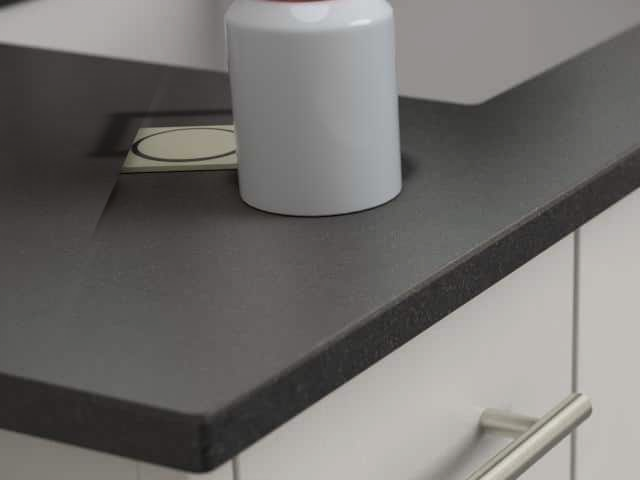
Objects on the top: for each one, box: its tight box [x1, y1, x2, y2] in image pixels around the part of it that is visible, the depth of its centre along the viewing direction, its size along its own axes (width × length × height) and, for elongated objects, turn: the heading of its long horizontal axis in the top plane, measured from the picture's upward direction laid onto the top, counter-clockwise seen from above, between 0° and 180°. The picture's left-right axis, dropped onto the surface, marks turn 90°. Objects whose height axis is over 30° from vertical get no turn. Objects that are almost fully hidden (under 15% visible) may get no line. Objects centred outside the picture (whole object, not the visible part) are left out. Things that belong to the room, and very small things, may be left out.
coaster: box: [119, 124, 238, 174], centre depth 85 cm, size 8×7×1 cm
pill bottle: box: [223, 0, 403, 217], centre depth 76 cm, size 8×8×11 cm
